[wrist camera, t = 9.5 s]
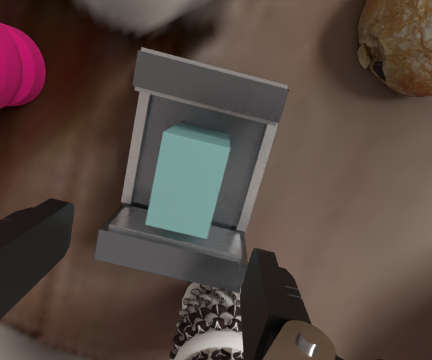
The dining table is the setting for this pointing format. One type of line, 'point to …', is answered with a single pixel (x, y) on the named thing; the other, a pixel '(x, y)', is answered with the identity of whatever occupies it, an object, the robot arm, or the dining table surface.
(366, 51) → the bread roll
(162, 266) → the vise
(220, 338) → the white patterned cylinder
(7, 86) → the pepper mill
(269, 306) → the robot arm
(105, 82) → the dining table surface
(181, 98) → the bar
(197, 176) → the teal block
